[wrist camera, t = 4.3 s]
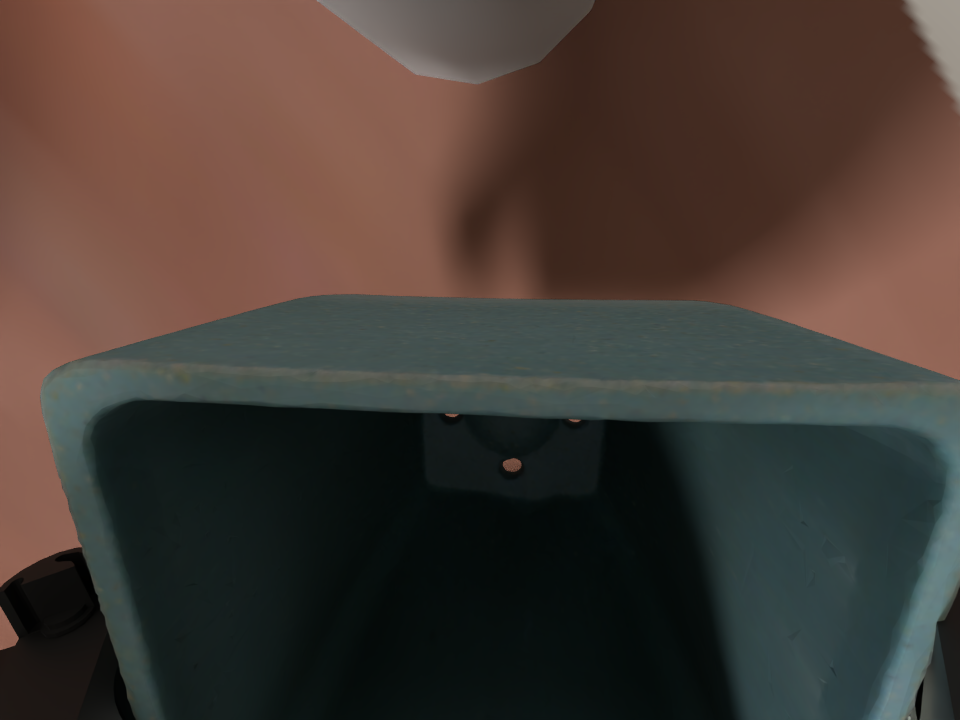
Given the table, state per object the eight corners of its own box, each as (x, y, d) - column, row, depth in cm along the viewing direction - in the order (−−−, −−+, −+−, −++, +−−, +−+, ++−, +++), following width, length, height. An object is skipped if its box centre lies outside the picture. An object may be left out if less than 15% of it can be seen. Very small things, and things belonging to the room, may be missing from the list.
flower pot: (359, 540, 16) (184, 940, 8) (331, 239, 13) (7, 363, 5) (661, 554, 16) (821, 1004, 7) (701, 241, 13) (1044, 387, 4)
